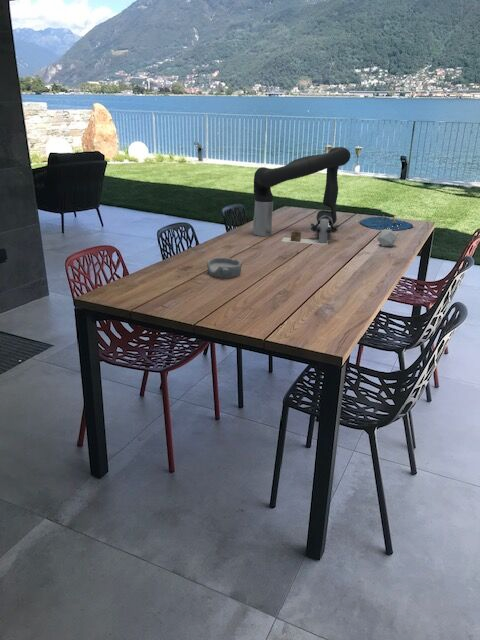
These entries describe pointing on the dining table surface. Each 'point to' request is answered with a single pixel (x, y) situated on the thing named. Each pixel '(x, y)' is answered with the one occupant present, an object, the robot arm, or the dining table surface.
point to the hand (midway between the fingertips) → (323, 231)
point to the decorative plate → (385, 223)
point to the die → (386, 238)
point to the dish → (224, 267)
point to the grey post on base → (322, 235)
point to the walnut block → (296, 235)
